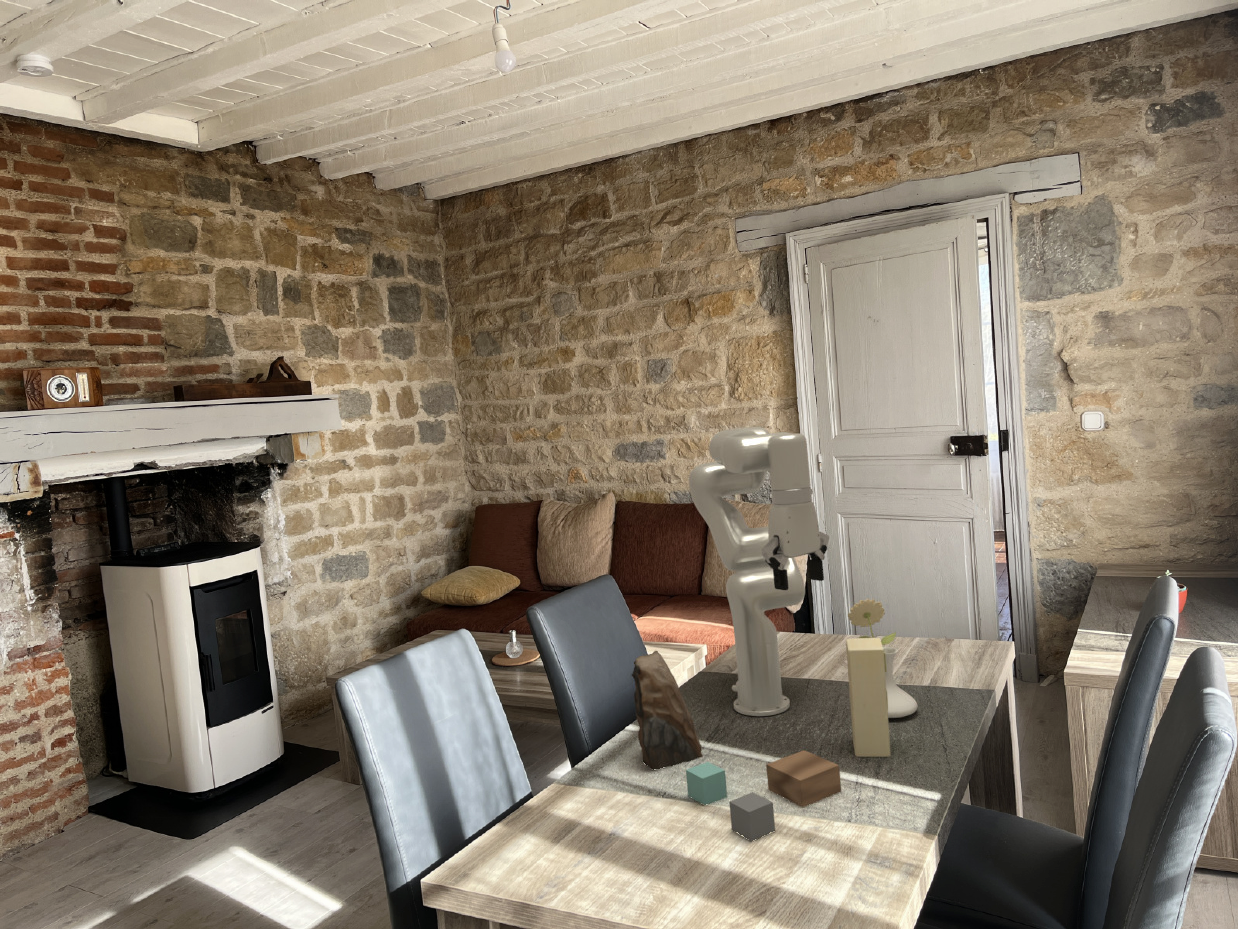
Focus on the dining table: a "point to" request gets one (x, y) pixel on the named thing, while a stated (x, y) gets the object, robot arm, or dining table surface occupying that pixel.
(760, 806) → the grey cube
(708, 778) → the teal cube
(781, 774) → the walnut block
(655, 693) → the brown rock
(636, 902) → the dining table surface
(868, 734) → the tall cream block
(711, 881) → the dining table surface
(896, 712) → the flower in vase
